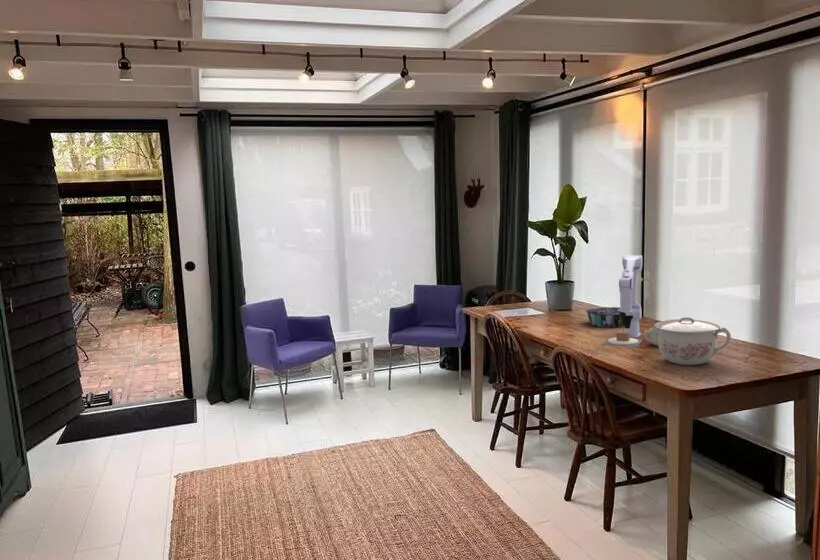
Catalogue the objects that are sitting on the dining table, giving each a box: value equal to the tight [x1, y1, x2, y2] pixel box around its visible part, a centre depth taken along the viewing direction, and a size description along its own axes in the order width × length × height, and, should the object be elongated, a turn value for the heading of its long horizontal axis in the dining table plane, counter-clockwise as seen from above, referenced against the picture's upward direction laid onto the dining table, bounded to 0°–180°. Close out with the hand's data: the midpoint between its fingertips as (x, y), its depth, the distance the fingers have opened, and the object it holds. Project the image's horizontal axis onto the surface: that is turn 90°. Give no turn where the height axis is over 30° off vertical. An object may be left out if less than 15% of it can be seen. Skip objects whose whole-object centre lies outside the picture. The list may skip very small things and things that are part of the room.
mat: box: [602, 336, 644, 348], centre depth 317 cm, size 18×17×1 cm
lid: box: [607, 331, 638, 345], centre depth 316 cm, size 15×15×5 cm
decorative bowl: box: [585, 306, 624, 328], centre depth 363 cm, size 26×28×10 cm
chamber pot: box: [653, 316, 732, 366], centre depth 274 cm, size 28×28×21 cm
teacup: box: [642, 327, 660, 347], centre depth 307 cm, size 14×11×8 cm
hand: (626, 327), depth 313 cm, fingers open, 7 cm apart
